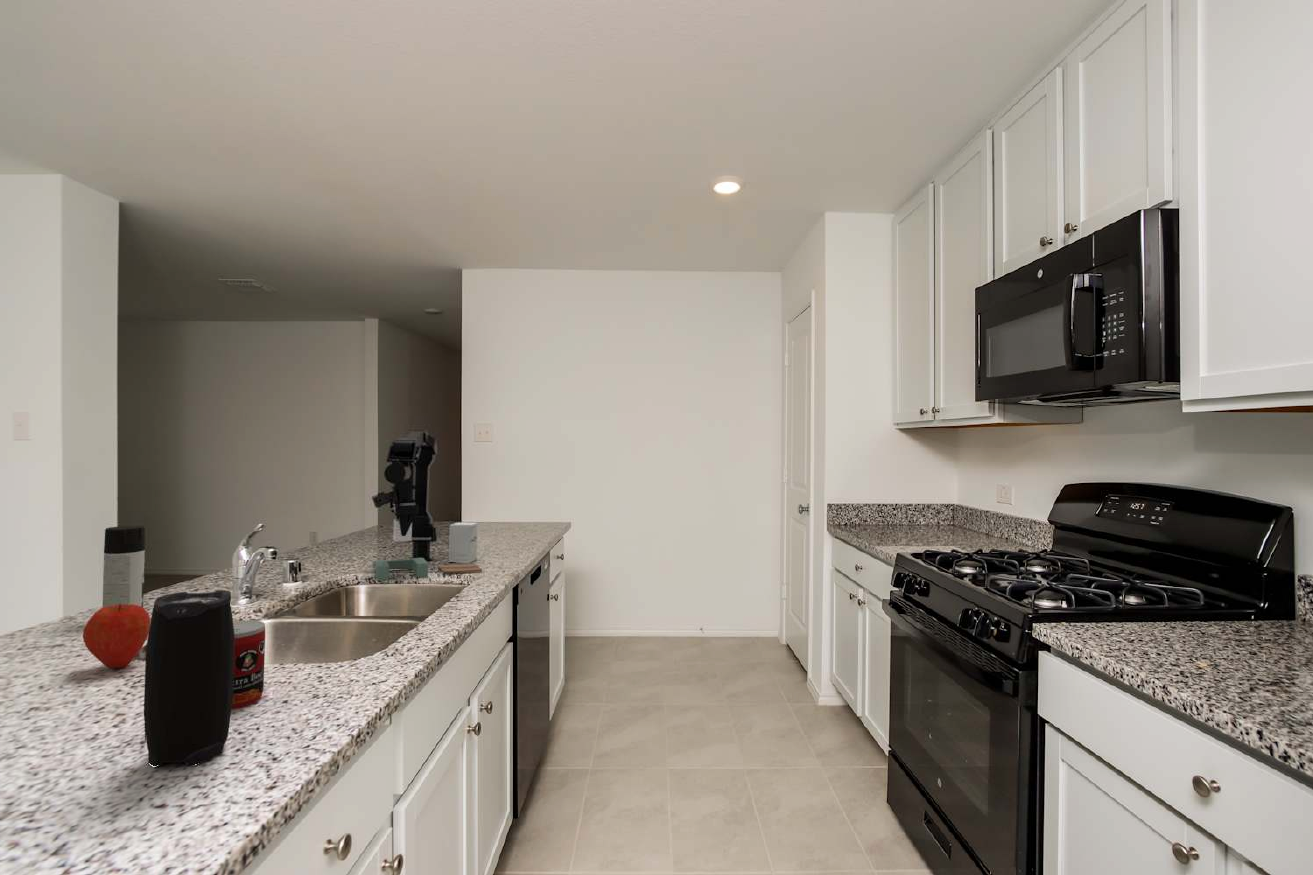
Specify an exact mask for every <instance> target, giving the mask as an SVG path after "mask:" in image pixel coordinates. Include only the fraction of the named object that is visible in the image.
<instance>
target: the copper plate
mask: <svg viewBox="0 0 1313 875" xmlns="http://www.w3.org/2000/svg"><path fill="white" fill-rule="evenodd" d="M439 569H440V570H441V571H442V572H443V573H444V574H443V573H442V572H441V571H440V570H439ZM437 570H439V571H440V572H441V573H442V574H443V575H444V576H446V575H445V574H455V575H464V574H465V575H467V574H466V573H468V574H478V573H477V572H481V573H483V568H481V567H480V566H479V565H477V564H476V563H474V562H471V563H451V564H442V565H441V564H440V565H439V564H438V565H437Z"/></svg>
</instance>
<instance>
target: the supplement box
mask: <svg viewBox="0 0 1313 875" xmlns="http://www.w3.org/2000/svg"><path fill="white" fill-rule="evenodd" d="M448 532H449V534H448V535H449V537H448V538H449V539H448V540H449V541H448V562H461V563H460V564H466V563H470V562H471V563H473V562H474V561H476V560H477V555H478V554H477V553H478V552H477V550H478V547H477V546H478V522H455V523H452V524H449V531H448Z"/></svg>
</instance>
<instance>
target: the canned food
mask: <svg viewBox="0 0 1313 875" xmlns="http://www.w3.org/2000/svg"><path fill="white" fill-rule="evenodd" d="M233 626H234V634H235V648H234V691H233V701H232V705H233V708H232V709H231V711H233V710H236V709H241V708H245V707H247V706H250V705H252V704H255V703H257V702H258V701H259V700H260V699H261V698H262V695H263V692H264V685H265V684H264V683H265V658H266V657H265V656H266V655H265V652H266V650H265V649H266V624H265V622H263V621H261V620H255V619H244V620H233Z"/></svg>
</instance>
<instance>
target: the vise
mask: <svg viewBox="0 0 1313 875" xmlns="http://www.w3.org/2000/svg"><path fill="white" fill-rule="evenodd" d="M389 569H412V570H413V571H414V573H415V575H416V576H415V575H414V576H415V577H416V578H417V579H418V578H419V579H421V578H427V577H426V576H428V573H429V562H428V561H426V560H425V559H424V558H412V559H410V558H405V559H404V558H403V559H402V558H401V559H390V560H389V559H387V560H386V559H381V560H374V561H373V562H372V567H370V568H369V567H368V568H366V569H365V572H366V573H365V574H366V575H372V574H373V575H374V573H375V575H374V576H376V577H375V579H376V581H377V582H381V581H389V580H390V571H389ZM412 570H411V571H412ZM414 573H413V574H414ZM428 577H429V576H428Z"/></svg>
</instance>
